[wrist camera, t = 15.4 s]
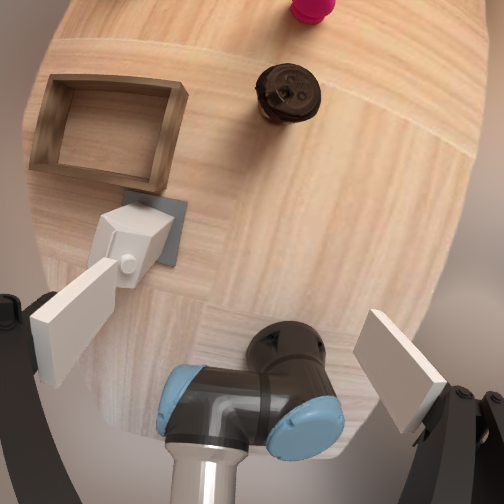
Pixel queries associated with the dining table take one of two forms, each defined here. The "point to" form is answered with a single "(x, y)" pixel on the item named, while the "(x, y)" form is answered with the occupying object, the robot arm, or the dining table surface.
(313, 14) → the pepper mill
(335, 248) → the dining table surface
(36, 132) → the crate
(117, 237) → the milk carton
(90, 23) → the dining table surface
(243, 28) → the dining table surface
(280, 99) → the coffee cup
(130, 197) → the coaster
